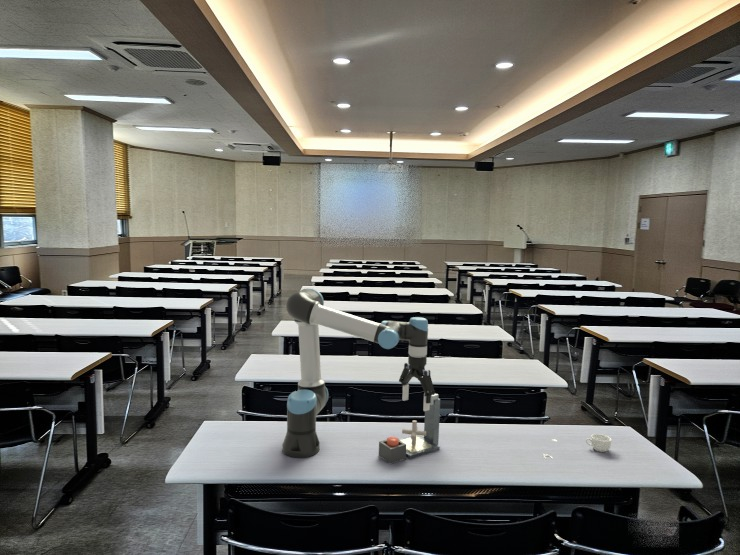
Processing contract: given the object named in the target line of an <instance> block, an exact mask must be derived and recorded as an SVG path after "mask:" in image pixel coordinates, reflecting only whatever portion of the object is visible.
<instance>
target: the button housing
mask: <svg viewBox="0 0 740 555" xmlns="http://www.w3.org/2000/svg"><path fill="white" fill-rule="evenodd" d="M378 457H380V458H381V459H383V460H384V461H386V462H387V463H388V464H390V465H391V464H394V463H397V462H401V461H403V460H406V459H407V457H406V444H405V443H403V442H401V441H400V440H399V445H398V446H395V447H390V446H388V445H387V439H384V440H379V441H378Z"/></svg>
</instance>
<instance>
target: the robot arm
mask: <svg viewBox="0 0 740 555" xmlns="http://www.w3.org/2000/svg"><path fill="white" fill-rule="evenodd" d="M324 303H325V302H324V297H323V295H322V293H320V292H319V291H318V290H317V289H314V288H303V289H301V290H299V291H295V292H293V293H292V294H290V296H288V298H287V299H286V302H285V309H286V313H287V314H288V315H289V317H291V318H292V319H293V321H294V323H295V324H296V325H297V326H298V342H299V343H298V347H299V362H300V363H299V364H300V379H299V381H298V382H297V391H296V390H295V391H292V392H291V393H290V394H288V397H287V402H286V434H285V437H284V440H283V443H282V453H283V454H284V455H285V456H287V457H290V458H296V459H297V458H298V459H301V458H309V457H313V456H315V455H316V454H318V453H319V452H320V446H321V444H320V441H319V437H318V434H317V430H316V428H317V416H318V414H319V413H320V412H321V411H322V410H323V409H324V407H325V406H326V405H327V402H328V400H329V391H328V388H327V387H326V382H325V379H323V378H322V371H321V370H322V369H321V367H322V366H321V352H320V350H321V349H320V332H319V331H320V330H319V325H320V326H323V327H326V328H329V329H332V330H335V331H338V332H341V333H345V334H348V335H351V336H354V337H358V338H360V339H362V340H363V339H364V340H367V341H370V342H373V343H376V344H379V346H380V347H381V348H383V349H386V350H390V349H393V348H394V347H396V346H398V343H399V341H408V352H407V354H408V357H407V358H408V359H407V361H408V362H404V365H403V370H402V372H401V374H400V377H399V379H398V382H399V383H401V384H400V385H401V392H402V397H401V398H402V401H404V402H405V401H408V400H409V394H410V393H409V392H410V391H409V389H410V385H409V382H410V381H411V380H412V378H416V379H417V380H418V381H419V382H420V385H421V387H422V388H421V389H422V390H423V392H424V393H425V395H424V394H423V408H422V410H423V412H425V411H428V410H430V402H431V395H435V393H436V391H435V389H434V384H433V381H432V380H433V379H432V376H431V370H430V369H428V370H427V369H426V365H427V358H428V357H427V355H428V337H429V336H428V335H429V322H428V319H427V318H424V317H421V316H420V317H419V316H415V317H414V316H413V317H410V319H409V321H408V322H407V321H398V320H397V321H396V320H382V321H381V323H379V322H375V321H373V320H369V319H366V318H364V317H360V316H357V315H355V314H354V315H353V314H351V313H347V312H345V311H342V310H337V309H334V308H332V307H329V306H325V305H324Z"/></svg>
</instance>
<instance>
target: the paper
mask: <svg viewBox="0 0 740 555" xmlns="http://www.w3.org/2000/svg"><path fill="white" fill-rule="evenodd" d="M551 441H553V442H558V440H557V439H554V438H553V439H551ZM542 457H543V458H544V459H545V460H546V459H548V457H550V458H551V459H552V460H553V459H554V457H553V456H552V455H551V454H548V453H543V454H542Z"/></svg>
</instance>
